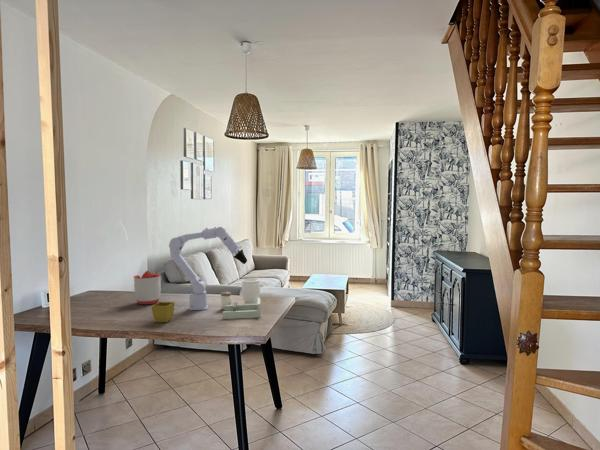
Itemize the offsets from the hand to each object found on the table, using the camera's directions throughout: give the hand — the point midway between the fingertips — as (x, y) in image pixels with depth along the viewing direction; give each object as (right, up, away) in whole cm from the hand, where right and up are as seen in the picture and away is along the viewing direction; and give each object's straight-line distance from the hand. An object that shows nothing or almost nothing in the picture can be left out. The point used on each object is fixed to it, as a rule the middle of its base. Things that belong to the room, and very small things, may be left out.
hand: (245, 262), depth 230 cm
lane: (-1, -27, -15) cm, 31 cm away
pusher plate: (-3, -26, -15) cm, 31 cm away
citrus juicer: (-63, -27, +16) cm, 70 cm away
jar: (+2, -26, +6) cm, 27 cm away
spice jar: (-11, -26, -2) cm, 29 cm away
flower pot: (-39, -28, -26) cm, 54 cm away
